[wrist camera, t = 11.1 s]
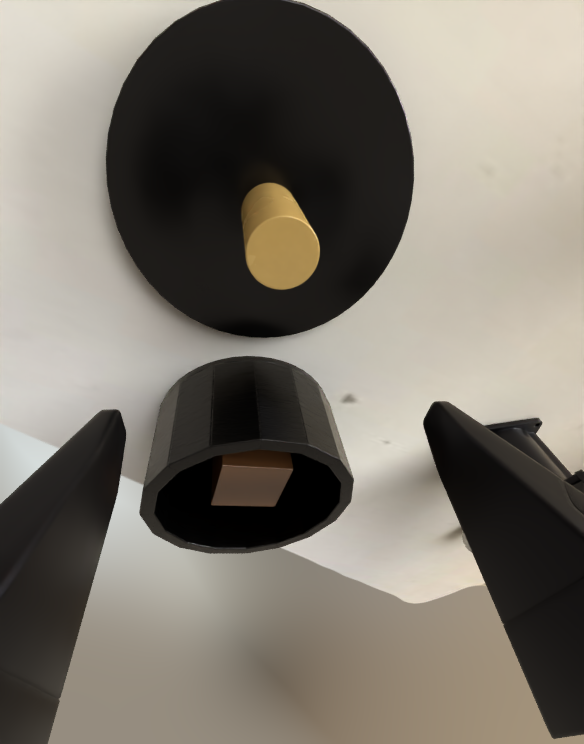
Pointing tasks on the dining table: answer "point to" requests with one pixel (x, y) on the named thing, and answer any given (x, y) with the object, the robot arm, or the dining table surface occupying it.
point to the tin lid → (260, 166)
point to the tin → (239, 434)
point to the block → (250, 478)
